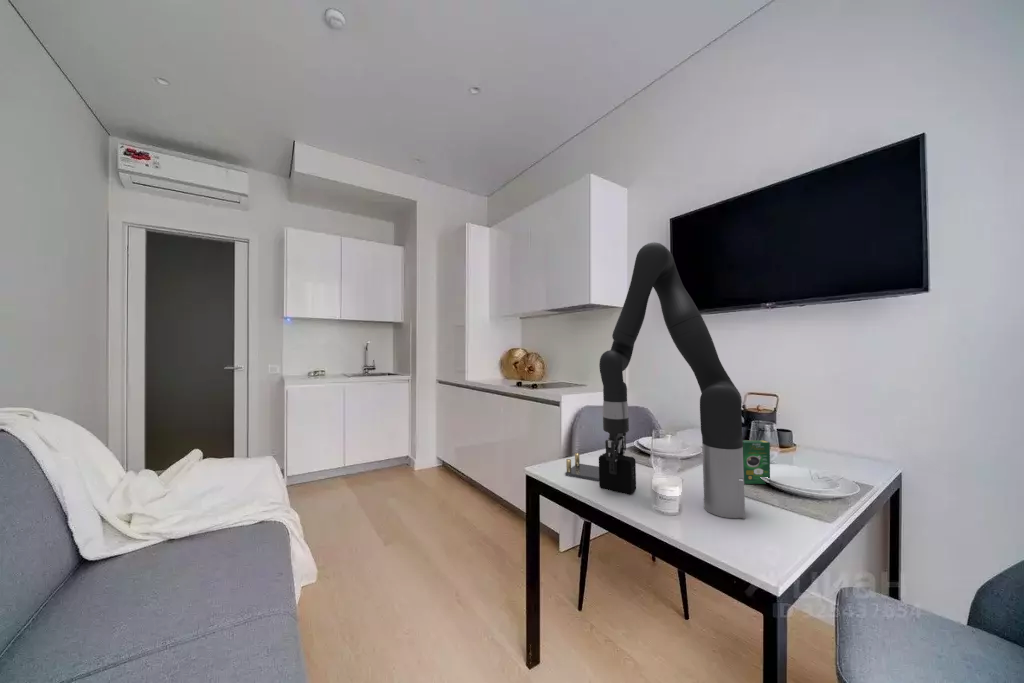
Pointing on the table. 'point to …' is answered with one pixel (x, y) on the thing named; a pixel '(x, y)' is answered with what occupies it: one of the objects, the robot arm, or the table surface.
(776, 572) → the table surface
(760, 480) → the coffee box
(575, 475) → the chassis
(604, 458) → the electronic device
